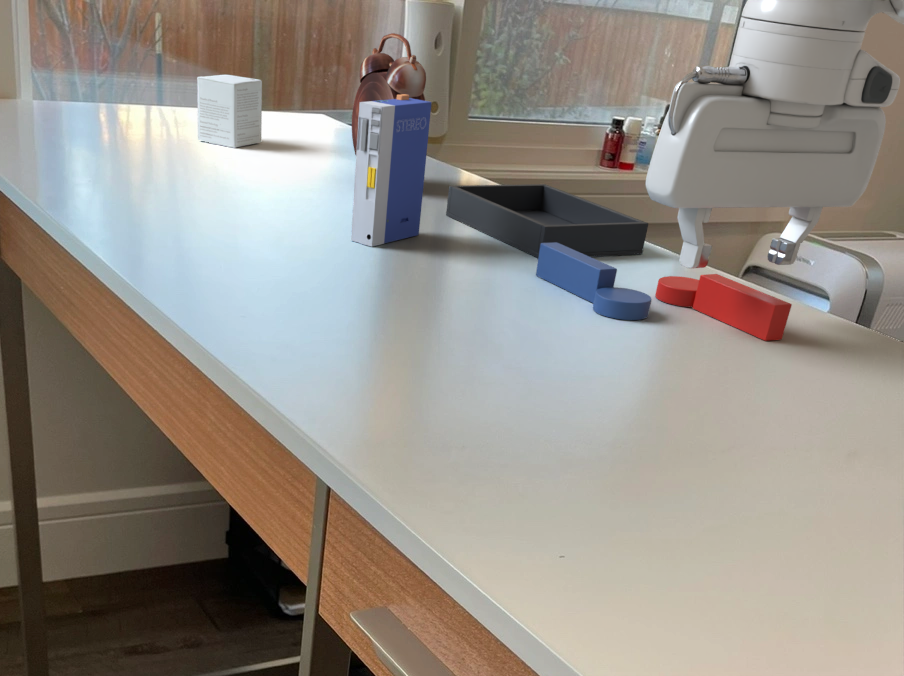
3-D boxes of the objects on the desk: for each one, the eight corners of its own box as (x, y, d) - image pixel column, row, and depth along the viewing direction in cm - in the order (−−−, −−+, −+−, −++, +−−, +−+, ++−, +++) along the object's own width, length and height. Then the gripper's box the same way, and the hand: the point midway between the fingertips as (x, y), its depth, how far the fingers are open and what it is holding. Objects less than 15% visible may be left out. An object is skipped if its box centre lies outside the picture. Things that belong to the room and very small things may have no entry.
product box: (225, 136, 148) (225, 73, 144) (262, 143, 146) (263, 79, 142) (196, 141, 144) (195, 76, 140) (234, 148, 142) (235, 82, 137)
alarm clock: (425, 193, 127) (440, 40, 119) (388, 194, 125) (401, 38, 116) (379, 173, 135) (390, 29, 126) (344, 174, 133) (352, 27, 124)
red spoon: (794, 338, 90) (805, 302, 89) (752, 342, 88) (761, 306, 87) (684, 291, 100) (692, 258, 98) (644, 293, 98) (651, 260, 96)
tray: (642, 254, 110) (648, 223, 109) (540, 259, 106) (545, 226, 104) (540, 212, 123) (545, 184, 122) (445, 215, 119) (449, 185, 117)
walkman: (396, 229, 111) (408, 93, 104) (419, 235, 110) (432, 97, 103) (348, 240, 106) (356, 97, 99) (371, 246, 105) (382, 102, 98)
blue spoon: (522, 276, 100) (527, 243, 98) (564, 273, 102) (569, 241, 100) (614, 322, 90) (621, 286, 89) (659, 318, 92) (667, 283, 90)
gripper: (710, 70, 76) (661, 280, 84) (917, 81, 84) (854, 271, 92) (653, 57, 81) (611, 257, 89) (854, 69, 89) (799, 251, 97)
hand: (736, 264), depth 91 cm, fingers open, 8 cm apart
